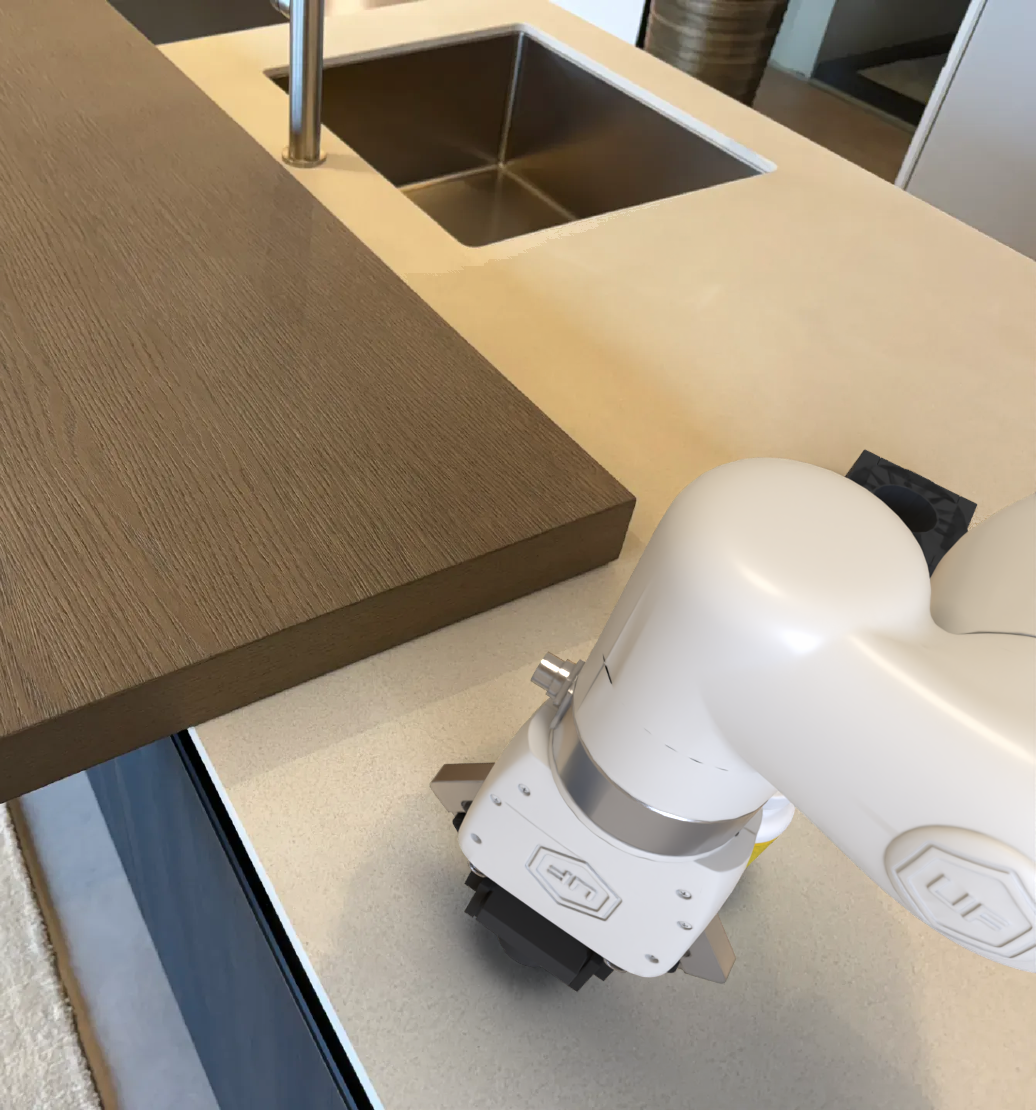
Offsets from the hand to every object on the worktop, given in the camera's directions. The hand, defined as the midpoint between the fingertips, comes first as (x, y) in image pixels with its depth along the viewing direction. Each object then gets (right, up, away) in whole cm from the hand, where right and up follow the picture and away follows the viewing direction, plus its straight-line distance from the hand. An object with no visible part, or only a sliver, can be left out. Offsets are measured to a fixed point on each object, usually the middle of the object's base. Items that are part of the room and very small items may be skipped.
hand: (534, 926), depth 52 cm
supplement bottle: (+10, +3, +5) cm, 11 cm away
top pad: (0, -1, +1) cm, 1 cm away
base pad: (+29, +20, +21) cm, 41 cm away
